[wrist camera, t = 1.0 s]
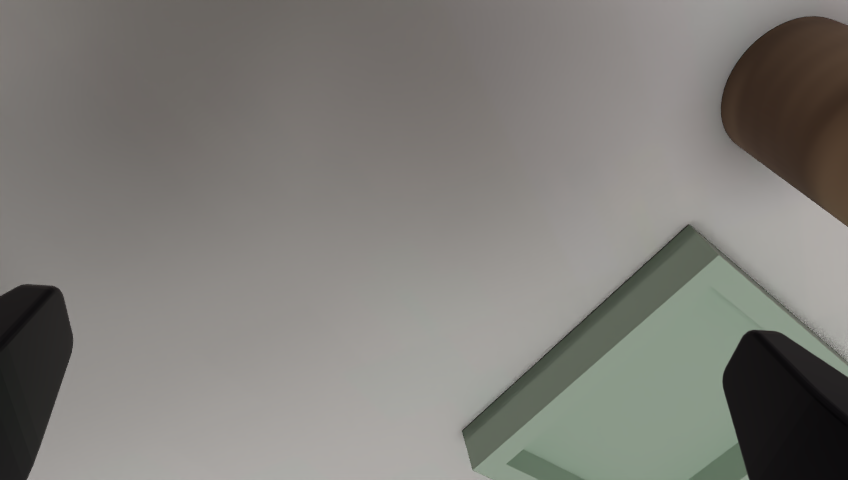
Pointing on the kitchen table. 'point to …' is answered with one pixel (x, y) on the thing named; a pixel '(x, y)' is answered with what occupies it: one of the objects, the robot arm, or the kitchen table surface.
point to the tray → (639, 379)
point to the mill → (796, 108)
